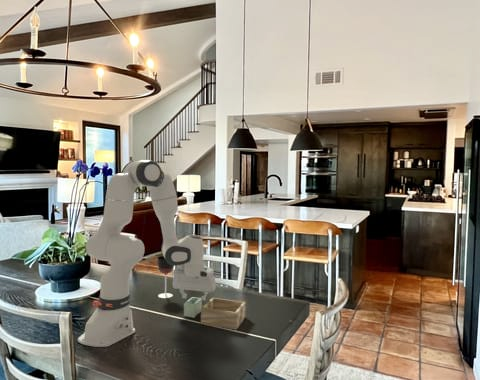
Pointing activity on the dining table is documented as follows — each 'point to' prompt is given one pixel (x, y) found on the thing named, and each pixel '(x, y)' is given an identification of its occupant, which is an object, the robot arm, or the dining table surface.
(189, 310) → the green crate
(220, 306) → the birch crate
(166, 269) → the wineglass
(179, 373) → the dining table surface
